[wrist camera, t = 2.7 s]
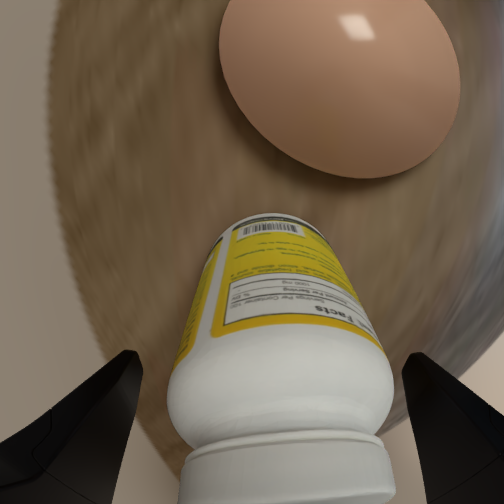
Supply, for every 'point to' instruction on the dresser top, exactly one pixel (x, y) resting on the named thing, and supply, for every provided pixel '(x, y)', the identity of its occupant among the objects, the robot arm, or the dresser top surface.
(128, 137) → the dresser top surface
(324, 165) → the tan round disc
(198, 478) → the pill bottle
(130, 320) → the dresser top surface
